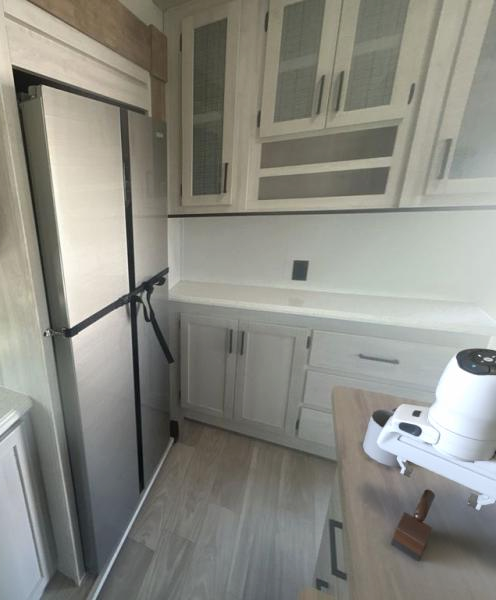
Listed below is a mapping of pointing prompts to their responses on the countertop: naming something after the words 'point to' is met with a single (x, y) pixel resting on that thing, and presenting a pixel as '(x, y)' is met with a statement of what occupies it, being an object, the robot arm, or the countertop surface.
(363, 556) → the countertop surface
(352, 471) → the countertop surface
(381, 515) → the countertop surface
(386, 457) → the cup
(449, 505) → the countertop surface
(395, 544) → the brush
